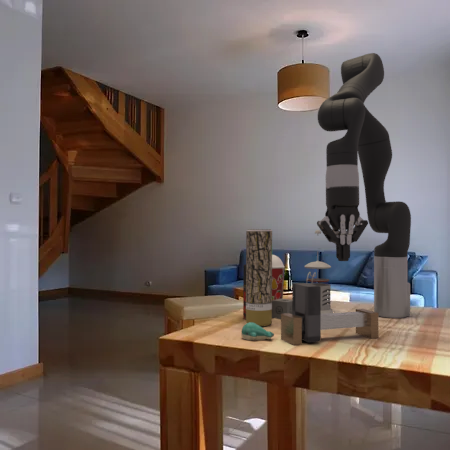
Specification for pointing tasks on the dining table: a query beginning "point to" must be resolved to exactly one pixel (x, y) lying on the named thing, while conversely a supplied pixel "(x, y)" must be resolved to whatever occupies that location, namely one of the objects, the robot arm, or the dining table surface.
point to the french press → (324, 287)
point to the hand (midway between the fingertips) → (343, 260)
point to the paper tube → (259, 276)
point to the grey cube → (281, 307)
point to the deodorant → (244, 292)
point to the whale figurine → (255, 332)
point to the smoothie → (277, 278)
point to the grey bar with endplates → (330, 324)
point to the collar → (308, 309)
